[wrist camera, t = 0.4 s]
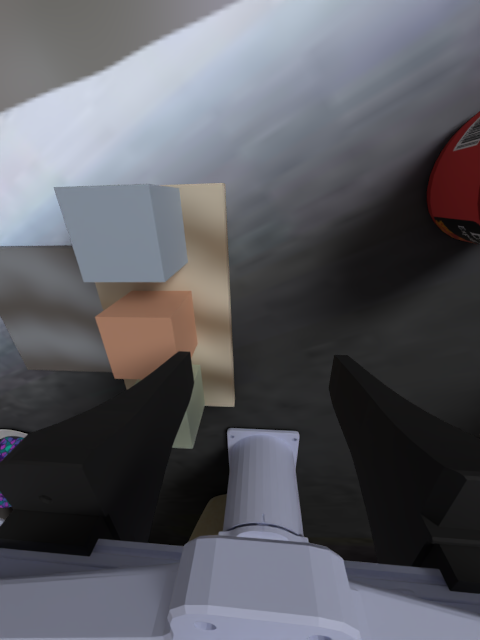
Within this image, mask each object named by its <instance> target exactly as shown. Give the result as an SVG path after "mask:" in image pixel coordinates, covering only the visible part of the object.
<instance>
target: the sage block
mask: <svg viewBox="0 0 480 640" xmlns="http://www.w3.org/2000/svg"><path fill="white" fill-rule="evenodd" d="M192 369H193V377H194V387H193V391H192V395H191V399H190V402H189V405H188V407H187V410H186V413H185V415H184V418H183V420H182V423H181V425H180V428H179V430H178V433H177V435H176V438H175V440H174V443H173V446H172V448H190V449H193V446H194V442H195V439H196V435H197V431H198V428H199V424H200V421H201V417H202V413H203V410H204V406H205V401H204V392H203V384H202V375H201V367H200V365H194V364H192ZM141 380H142V379H138V380H137V381H136V383H135V384H137V383H138V382H139V381H141ZM135 384H134V385H135Z"/></svg>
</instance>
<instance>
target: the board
mask: <svg viewBox="0 0 480 640" xmlns="http://www.w3.org/2000/svg"><path fill="white" fill-rule="evenodd" d="M160 186H167V187H175V188H179V191H180V199H181V208H182V216H183V224H184V233H185V241H186V250H187V258H188V263H187V264H185V265H184V266H183V267H182V268H181V269H180V270H178V271H177V272H176V273H175V274H174V275H173V276H172V277H170V278H169V279H168V280H167V281H166V282H84V281H83V278H82V275H81V272H80V269H79V265H78V262H77V259H76V256H75V253H74V250H73V247H72V246H0V316H1V318H2V320H3V322H4V324H5V326H6V328H7V330H8V332H9V334H10V336H11V338H12V340H13V342H14V344H15V345H16V347H17V349H18V351H19V353H20V355H21V357H22V359H23V361H24V363H25V365H26V367H27V369H28V370H57V371H90V372H112V369H111V366H110V363H109V360H108V356H107V353H106V350H105V347H104V344H103V341H102V338H101V334H100V331H99V328H98V325H97V322H96V319H95V316H97V315H98V314H100V313H101V312H102V311H104V310H105V309H107V308H108V307H110V306H111V305H112V304H114V303H115V302H117V301H118V300H119V299H121V298H122V297H124V296H125V295H126V294H128V293H129V292H131V291H191V292H192V300H193V308H194V317H195V325H196V333H197V342H198V344H197V347H196V349H195V351H194V353H193V356H192V358H191V361H192V364H194V365H200V367H201V375H202V384H203V392H204V401H205V406H223V407H234V403H235V390H234V368H233V346H232V324H231V302H230V281H229V259H228V237H227V215H226V193H225V184H224V183H213V184H184V185H160ZM137 380H138V379H124V382H125V385H126V389H129V388H131V387H132V386H134V384H135V383H136V381H137Z"/></svg>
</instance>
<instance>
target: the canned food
mask: <svg viewBox="0 0 480 640" xmlns="http://www.w3.org/2000/svg"><path fill="white" fill-rule="evenodd" d="M427 205H428V211H429V213H430V215H431V218H432V220H433V221H434V222H435V224H436V225H437V226H438V227H439V228H440V229H441V230H442V231H443V232H444V233H446V234H447V235H449V236H450V237H452V238H455V239H458V240H461V241H466V242H470V243H475V244H480V112H479V113H477V114H476V115H475V116H474V117H472V118H471V119H470V120H469V121H468V122H466V123H465V124H464V125H463V126H462V127H461V128H460V129H459V130H458V131H457V132H456V133H455V134H454V135H453V136H452V138H451V139H450V140H449V142H448V143H447V144H446V146H445V147H444V148H443V150H442V151H441V153H440V155H439V157H438V159H437V160H436V162H435V164H434V167H433V169H432V172H431V175H430V178H429V183H428V187H427Z"/></svg>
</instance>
